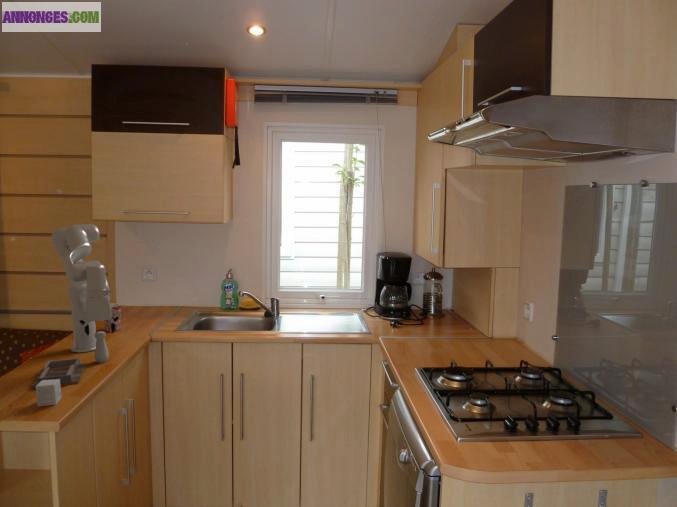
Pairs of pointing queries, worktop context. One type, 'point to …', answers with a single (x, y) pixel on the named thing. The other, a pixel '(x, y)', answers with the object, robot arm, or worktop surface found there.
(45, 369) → the keyhole rails
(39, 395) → the product box
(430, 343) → the worktop surface
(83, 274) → the robot arm
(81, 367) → the keyhole board
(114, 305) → the mug
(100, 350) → the salt shaker
